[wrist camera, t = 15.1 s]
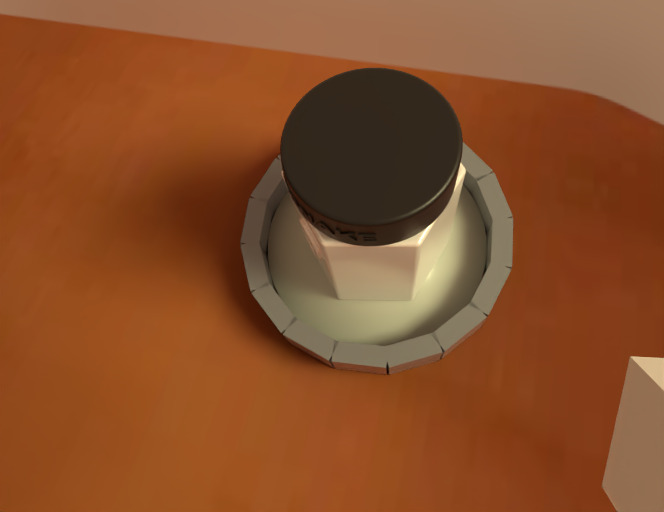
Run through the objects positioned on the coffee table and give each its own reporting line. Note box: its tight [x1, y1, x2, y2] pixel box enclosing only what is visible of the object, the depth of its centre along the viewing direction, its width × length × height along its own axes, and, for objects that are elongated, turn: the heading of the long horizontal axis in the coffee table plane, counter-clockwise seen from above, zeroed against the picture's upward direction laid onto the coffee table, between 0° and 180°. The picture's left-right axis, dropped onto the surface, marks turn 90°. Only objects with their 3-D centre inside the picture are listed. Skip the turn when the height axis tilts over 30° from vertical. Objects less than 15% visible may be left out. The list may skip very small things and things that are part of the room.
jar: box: [280, 68, 466, 301], centre depth 30 cm, size 9×8×12 cm
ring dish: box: [240, 143, 513, 375], centre depth 35 cm, size 16×16×3 cm
